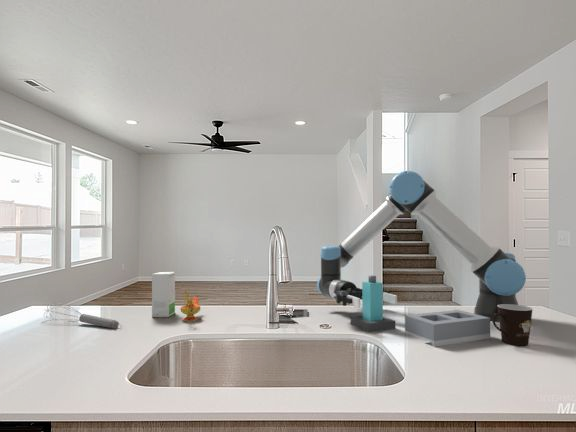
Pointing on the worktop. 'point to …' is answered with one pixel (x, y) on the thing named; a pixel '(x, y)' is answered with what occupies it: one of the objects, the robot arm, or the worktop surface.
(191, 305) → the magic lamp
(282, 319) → the handgun
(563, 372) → the worktop surface
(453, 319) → the block
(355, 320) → the frame
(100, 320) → the kitchen whisk
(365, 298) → the plug
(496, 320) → the robot arm
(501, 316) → the coffee mug
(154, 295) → the skincare box
